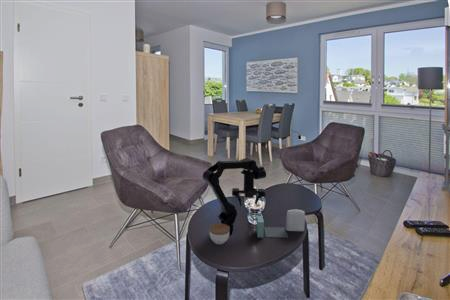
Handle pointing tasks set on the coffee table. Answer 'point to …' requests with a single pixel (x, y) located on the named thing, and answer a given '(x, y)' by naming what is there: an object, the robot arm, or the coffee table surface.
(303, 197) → the coffee table surface
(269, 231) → the mat
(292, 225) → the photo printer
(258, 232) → the slab
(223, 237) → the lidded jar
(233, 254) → the coffee table surface
